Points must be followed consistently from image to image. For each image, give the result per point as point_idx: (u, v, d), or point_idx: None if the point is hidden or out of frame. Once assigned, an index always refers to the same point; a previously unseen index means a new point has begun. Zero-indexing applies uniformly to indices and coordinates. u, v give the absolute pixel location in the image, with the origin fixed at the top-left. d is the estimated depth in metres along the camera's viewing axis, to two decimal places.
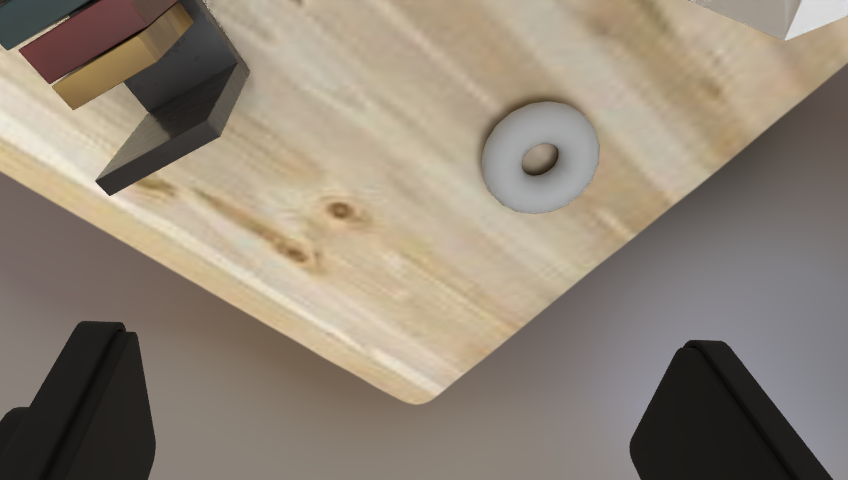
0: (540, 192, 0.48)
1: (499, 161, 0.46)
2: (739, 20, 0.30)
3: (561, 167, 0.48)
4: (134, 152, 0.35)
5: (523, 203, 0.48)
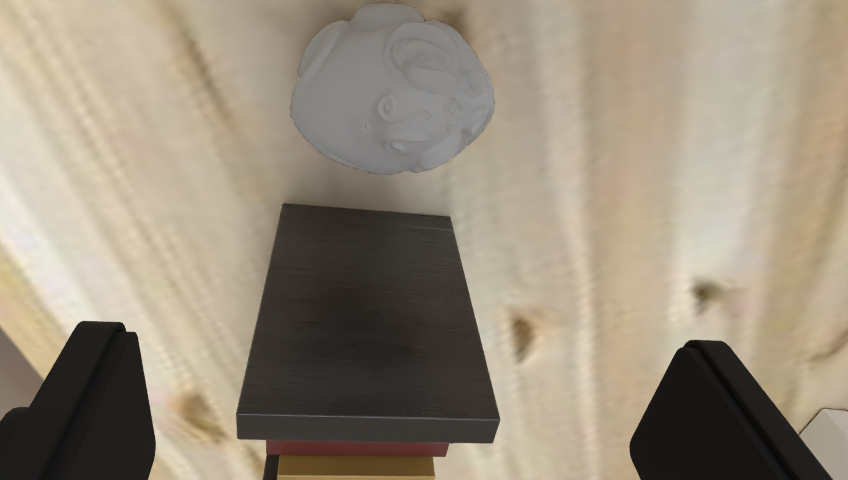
0: None
1: None
2: None
3: None
4: None
5: None
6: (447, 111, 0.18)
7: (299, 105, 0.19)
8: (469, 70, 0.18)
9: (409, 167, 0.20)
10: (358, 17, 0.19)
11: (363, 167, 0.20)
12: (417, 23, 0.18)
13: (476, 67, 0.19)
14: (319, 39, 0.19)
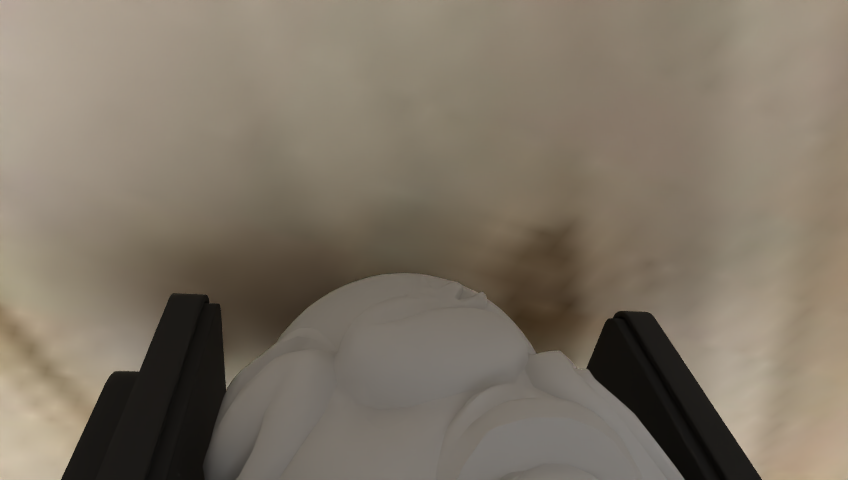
0: None
1: None
2: None
3: None
4: None
5: None
6: None
7: None
8: None
9: None
10: (355, 366, 0.07)
11: None
12: (528, 419, 0.06)
13: None
14: (252, 416, 0.07)
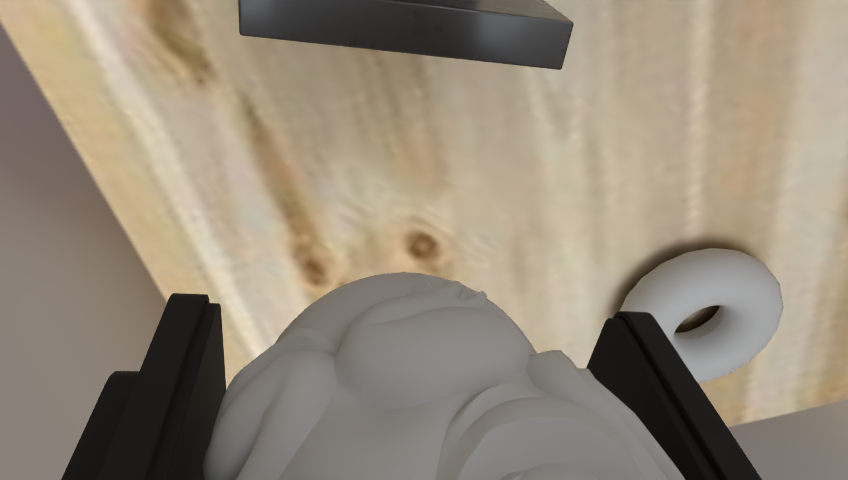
0: None
1: (677, 302, 0.32)
2: None
3: (714, 341, 0.36)
4: None
5: None
6: None
7: None
8: None
9: None
10: (355, 366, 0.07)
11: None
12: (529, 419, 0.06)
13: None
14: (252, 415, 0.07)
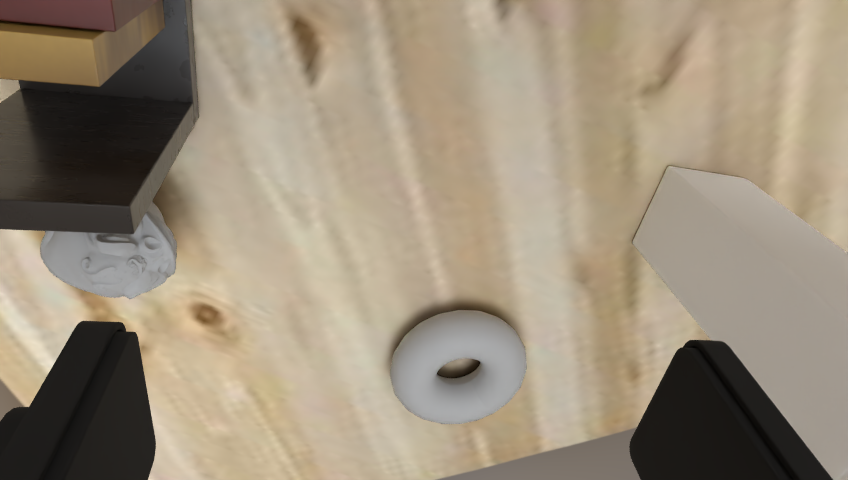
0: (442, 403, 0.41)
1: (423, 358, 0.38)
2: None
3: (475, 386, 0.42)
4: None
5: (419, 407, 0.41)
6: (128, 265, 0.28)
7: (43, 258, 0.29)
8: (148, 235, 0.28)
9: (123, 295, 0.30)
10: None
11: None
12: None
13: (155, 232, 0.28)
14: None
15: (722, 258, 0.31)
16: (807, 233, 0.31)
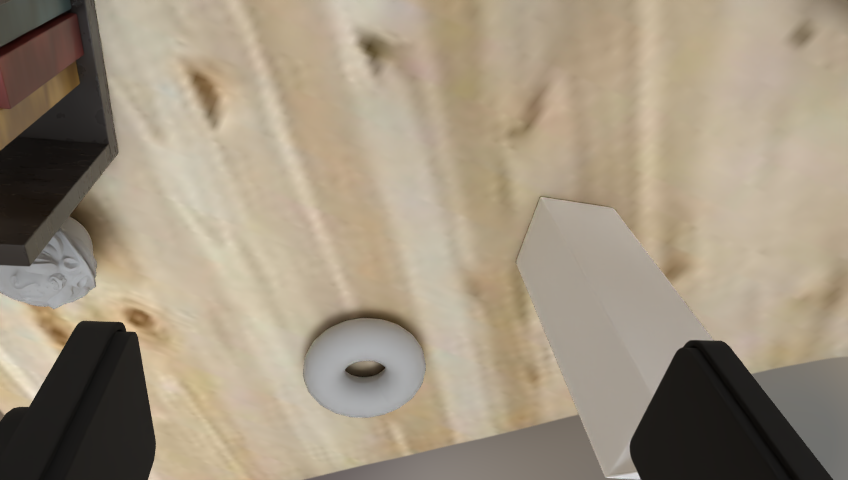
0: (349, 399, 0.47)
1: (327, 360, 0.44)
2: (581, 418, 0.32)
3: (380, 385, 0.47)
4: None
5: (328, 402, 0.46)
6: (50, 282, 0.33)
7: None
8: (68, 257, 0.34)
9: None
10: None
11: None
12: None
13: (73, 254, 0.34)
14: None
15: (563, 283, 0.36)
16: (639, 263, 0.36)
